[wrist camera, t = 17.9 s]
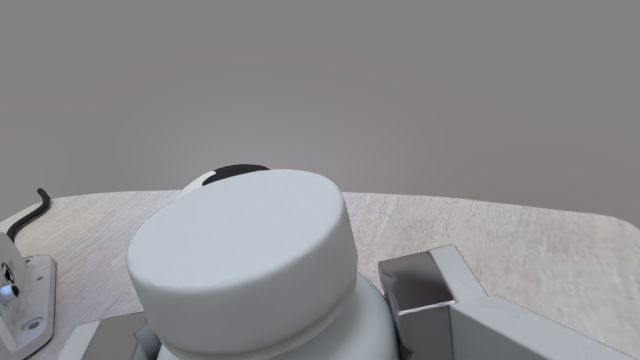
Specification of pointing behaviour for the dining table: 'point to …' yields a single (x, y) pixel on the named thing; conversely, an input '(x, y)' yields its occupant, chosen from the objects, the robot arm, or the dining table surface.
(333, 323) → the pill bottle
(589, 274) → the dining table surface
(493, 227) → the dining table surface
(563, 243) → the dining table surface
